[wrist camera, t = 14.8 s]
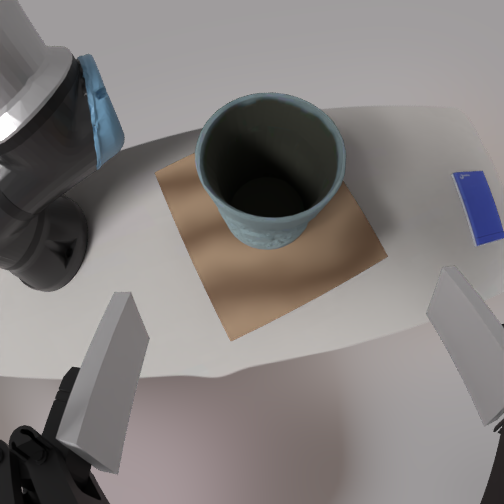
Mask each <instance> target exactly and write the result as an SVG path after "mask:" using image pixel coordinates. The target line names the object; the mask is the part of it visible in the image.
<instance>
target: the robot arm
mask: <svg viewBox="0 0 504 504" xmlns="http://www.w3.org/2000/svg"><path fill="white" fill-rule="evenodd" d="M123 144H124V133H123V130H122V127H121V125H120V122H119V120H118V117H117V115H116V112H115V110H114V108H113V105H112V103H111V101H110V98H109V96H108V94H107V92H106V88H105V86H104V84H103V81H102V78H101V75H100V73H99V70H98V68H97V66H96V63H95V61H94V59H93V57H92V55H90V54H86V55H84V56H79V57H78V58H77V59H75V58H74V56H73V54H72V53H71V52H70V50H69V49H68V48H66V47H62V46H46V45H45V43H44V42H43V40H42V39H41V37H40V36H39V34H38V33H37V31H36V30H35V28H34V26H33V25H32V23H31V22H30V20H29V19H28V17H27V15H26V14H25V12H24V11H23V9H22V7H21V6H20V4H19V3H18V1H17V0H0V268H2V269H6V270H9V271H10V272H11V273H12V274H14V275H15V276H17V277H18V278H19V279H20V280H21V281H22V282H23V283H24V284H25V285H26V286H28V287H30V288H32V289H35V290H39V291H44V292H51V291H55V290H58V289H60V288H62V287H63V286H64V285H66V284H67V283H68V282H69V281H70V280H71V279H72V278H73V276H74V275H75V274H76V272H77V271H78V269H79V267H80V265H81V263H82V260H83V258H84V254H85V251H86V246H87V238H88V230H87V223H86V219H85V216H84V213H83V211H82V210H81V208H80V207H79V206H78V205H77V204H76V203H75V202H74V201H72V200H71V199H69V198H68V197H66V196H64V195H63V194H64V193H65V192H67V191H68V190H69V189H71V188H72V187H73V186H75V185H76V184H77V183H79V182H80V181H82V180H83V179H84V178H86V177H87V176H89V175H90V174H91V173H93V172H94V171H96V170H98V169H100V167H101V165H103V164H104V163H105V162H106V161H108V160H109V159H110V158H112V157H113V156H114V155H116V154H117V153H118V152H119V151H120V150H121V148H122V146H123ZM426 314H427V316H428V318H429V319H430V321H431V323H432V324H433V326H434V328H435V329H436V331H437V333H438V335H439V336H440V338H441V340H442V342H443V343H444V345H445V347H446V349H447V351H448V353H449V354H450V356H451V358H452V360H453V362H454V364H455V366H456V368H457V370H458V371H459V373H460V375H461V377H462V379H463V381H464V383H465V385H466V387H467V389H468V392H469V394H470V396H471V398H472V400H473V402H474V405H475V407H476V409H477V411H478V413H479V416H480V418H481V420H482V423H483V425H484V426H486V425H488V424H490V423H492V422H494V421H496V420H497V419H498V418H499V417H500V416H501V415H502V414H503V413H504V324H501V323H500V322H499V321H498V320H497V318H496V317H495V315H494V314H493V312H492V311H491V310H490V308H489V307H488V306H487V305H486V303H485V302H484V301H483V299H482V298H481V297H480V295H479V294H478V293H477V292H476V290H475V289H474V288H473V287H472V285H471V284H470V283H469V282H468V281H467V279H466V278H465V277H464V276H463V275H462V273H461V272H460V271H459V270H458V269H457V268H456V266H447V267H442V270H441V273H440V276H439V279H438V282H437V285H436V288H435V291H434V294H433V297H432V299H431V302H430V305H429V307H428V310H427V313H426ZM149 339H150V338H149V336H148V333H147V331H146V329H145V326H144V324H143V321H142V319H141V317H140V314H139V312H138V309H137V307H136V304H135V301H134V299H133V296H132V294H131V292H114V294H113V296H112V298H111V301H110V303H109V305H108V307H107V309H106V311H105V313H104V315H103V317H102V320H101V322H100V324H99V326H98V328H97V330H96V333H95V335H94V337H93V340H92V342H91V344H90V346H89V349H88V351H87V354H86V356H85V358H84V361H83V363H82V366H81V368H78V367H72V368H71V369H70V370H69V371H68V372H67V373H66V375H65V376H64V377H63V380H62V382H61V384H60V387H59V391H58V392H57V395H56V397H55V399H56V400H55V401H54V402H53V405H52V408H51V411H50V413H49V416H48V419H47V422H46V425H45V428H44V431H43V433H42V435H40V434H39V433H38V432H37V431H35V430H34V429H33V428H32V427H30V426H26V425H24V426H20V427H18V428H17V429H15V430H14V431H13V433H12V435H11V436H10V440H9V445H8V444H6V443H5V442H4V441H2V440H0V504H110V503H109V502H108V500H107V499H106V497H105V495H104V493H103V492H102V490H101V488H100V486H99V485H98V483H97V481H96V479H95V477H94V475H93V474H92V473H91V471H90V469H91V465H92V466H94V467H95V468H97V469H98V470H100V471H104V472H109V473H113V474H118V472H119V467H120V461H121V456H122V451H123V445H124V441H125V436H126V431H127V427H128V422H129V417H130V413H131V409H132V404H133V400H134V396H135V392H136V388H137V384H138V380H139V376H140V372H141V368H142V365H143V361H144V357H145V353H146V350H147V346H148V343H149ZM501 426H502V428H501V429H500V430H499V431H498V433H500V434H501V435H500V440H499V444H498V448H497V452H496V456H495V460H494V464H493V467H492V471H491V474H490V477H489V480H488V484H487V487H486V489H485V492H484V495H483V498H482V501H481V503H480V504H504V419H503V420H502V421H501V422H499V423H498V425H496V427H495V428H494V432H496V431H497V430H498V429H499V428H500V427H501ZM21 487H23V493H22V489H21Z"/></svg>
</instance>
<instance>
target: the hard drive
mask: <svg viewBox="0 0 504 504" xmlns="http://www.w3.org/2000/svg"><path fill="white" fill-rule="evenodd" d="M451 176H452V179H453V181H454V184H455V187H456V189H457V192H458V195H459V197H460V200H461V203H462V206H463V209H464V212H465V215H466V218H467V221H468V225H469V228H470V231H471V235H472V238H473V242H474V246H475V247H476V246H480V245H483V244H487V243H491V242H494V241H498V240H501V239H504V231H503V228H502V225H501V221H500V218H499V215H498V212H497V208H496V205H495V202H494V199H493V197H492V194H491V191H490V188H489V186H488V183H487V181H486V178H485V175H484V173H483V171H471V172H455V173H453V174H452V175H451Z"/></svg>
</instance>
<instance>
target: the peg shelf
mask: <svg viewBox="0 0 504 504" xmlns="http://www.w3.org/2000/svg"><path fill="white" fill-rule="evenodd" d="M155 175H156V177H157V180H158V182H159V185H160V187H161V190H162V192H163V195H164V197H165V200H166V202H167V204H168V207H169V209H170V211H171V214H172V216H173V219H174V221H175V223H176V226H177V228H178V230H179V232H180V235H181V237H182V239H183V242H184V244H185V246H186V248H187V251H188V253H189V255H190V257H191V259H192V262H193V264H194V266H195V268H196V270H197V273H198V275H199V277H200V279H201V281H202V283H203V286H204V288H205V290H206V292H207V294H208V296H209V298H210V300H211V302H212V304H213V306H214V309H215V311H216V313H217V315H218V317H219V319H220V321H221V323H222V325H223V327H224V329H225V331H226V333H227V335H228V337H229V339H230V341H233V340H235V339H237V338H239V337H241V336H243V335H245V334H247V333H249V332H251V331H254V330H256V329H258V328H260V327H262V326H264V325H266V324H268V323H270V322H271V321H273V320H275V319H277V318H279V317H281V316H283V315H285V314H287V313H289V312H291V311H293V310H295V309H297V308H298V307H300V306H302V305H304V304H306V303H308V302H310V301H311V300H313V299H315V298H317V297H319V296H321V295H322V294H324V293H326V292H328V291H330V290H331V289H333V288H335V287H337V286H339V285H340V284H342V283H344V282H346V281H347V280H349V279H351V278H353V277H354V276H356V275H358V274H359V273H361V272H363V271H365V270H366V269H368V268H370V267H371V266H373V265H375V264H376V263H378V262H380V261H381V260H383V259H385V258H386V257H388V256H387V254H386V252H385V250H384V248H383V246H382V245H381V243H380V241H379V239H378V237H377V236H376V234H375V232H374V230H373V229H372V227H371V225H370V224H369V222H368V220H367V218H366V217H365V215H364V213H363V212H362V210H361V208H360V207H359V205H358V204H357V202H356V200H355V199H354V197H353V196H352V194H351V192H350V191H349V189H348V188H347V186H346V185H345V183H344V181H342V184H341V186H340V188H339V189H338V191H337V193H336V194H335V195H334V196H333V197H332V199H331V200H330V201H329V202H328V203H327V204H326V205H325V207H324V208H323V209H322V210H321V211H320V212H319V213H318V214H317V215H316V217H315V218H313V219H312V220H311V221H309V222H308V224H307V227H306V229H305V230H304V231H303V232H302V233H301V235H300V236H299V237H298V238H297V239H296V240H294V241H293V242H292V243H290V244H288V245H286V246H284V247H281V248H278V249H272V250H263V249H257V248H253V247H250V246H248V245H246V244H244V243H242V242H241V241H240V240H238V239H237V238H236V237H235V236H234V235H233V234H232V232H231V231H230V229H229V228H228V226H227V224H226V222H225V220H224V219H223V218H222V216H221V214H220V212H219V210H218V207H217V206H216V204H215V203H214V201H213V200H212V199H211V197H210V196H209V194H208V193H207V191H206V190H205V189H204V187H203V185H202V183H201V181H200V179H199V176H198V173H197V169H196V164H195V153H193V154H191V155H189V156H187V157H185V158H183V159H181V160H179V161H177V162H175V163H173V164H171V165H169V166H167V167H165V168H163V169H161V170H159V171H157V172H155Z"/></svg>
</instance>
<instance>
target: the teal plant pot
mask: <svg viewBox="0 0 504 504" xmlns="http://www.w3.org/2000/svg"><path fill="white" fill-rule="evenodd" d="M195 164H196V169H197V173H198V176H199V179H200V181H201V183H202V185H203V187H204V189H205V190H206V191H207V193H208V194H209V196H210V197H211V199H212V200H213V201H214V203H215V204H216V206H217V207H218V210H219V212H220V214H221V216H222V218H223V219H224V220H225V222H226V224H227V226H228V228H229V229H230V231H231V232H232V234H233V235H234V236H235V237H236V238H237V239H238V240H240V241H241V242H242V243H244V244H246V245H248V246H250V247H253V248H257V249H263V250H272V249H278V248H281V247H284V246H286V245H288V244H290V243H292V242H293V241H294V240H296V239H297V238H298V237H299V236H300V235H301V233H302V232H303V231H304V230H305V229H306V227H307V224H308V222H309V221H311V220H312V219H313V218H315V217H316V215H317V214H318V213H319V212H320V211H321V210H322V209H323V208H324V207H325V205H326V204H327V203H328V202H329V201H330V200H331V199H332V197H333V196H334V195H335V194H336V193H337V191H338V189H339V188H340V186H341V184H342V181H343V178H344V174H345V165H346V151H345V146H344V141H343V139H342V136H341V134H340V132H339V130H338V128H337V127H336V125H335V124H334V122H333V121H332V120H331V119H330V118H329V117H328V116H327V115H326V114H325V113H324V112H323V111H321V110H320V109H319V108H317V107H316V106H314V105H313V104H311V103H309V102H307V101H305V100H303V99H300V98H298V97H294V96H291V95H287V94H279V93H257V94H251V95H247V96H244V97H241V98H238V99H236V100H234V101H231V102H229V103H228V104H226V105H225V106H223V107H222V108H220V109H219V110H217V111H216V112H215V114H213V116H212V117H211V118H210V119H209V120H208V121H207V122H206V124H205V125H204V127H203V129H202V131H201V133H200V136H199V138H198V141H197V145H196V150H195Z"/></svg>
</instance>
